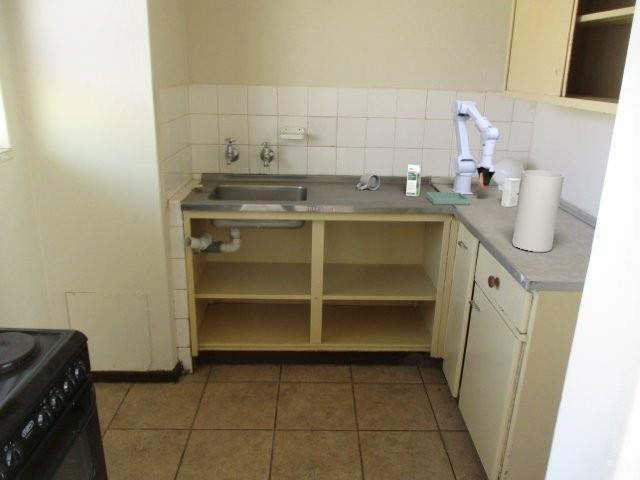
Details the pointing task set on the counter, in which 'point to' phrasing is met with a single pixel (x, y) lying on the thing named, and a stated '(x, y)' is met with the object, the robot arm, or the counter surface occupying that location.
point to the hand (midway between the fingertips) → (483, 184)
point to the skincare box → (510, 192)
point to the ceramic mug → (369, 182)
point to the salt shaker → (482, 183)
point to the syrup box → (413, 180)
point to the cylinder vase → (537, 210)
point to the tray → (447, 198)
